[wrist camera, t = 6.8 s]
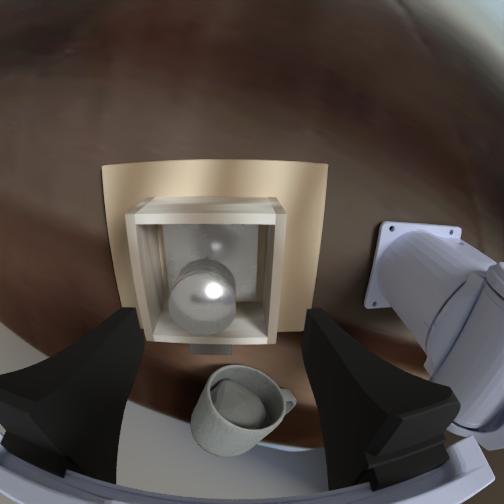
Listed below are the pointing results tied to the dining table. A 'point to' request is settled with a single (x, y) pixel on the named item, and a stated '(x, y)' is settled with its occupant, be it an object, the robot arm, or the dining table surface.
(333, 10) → the dining table surface
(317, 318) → the robot arm
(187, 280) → the plunger
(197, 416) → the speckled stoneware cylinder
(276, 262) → the base
